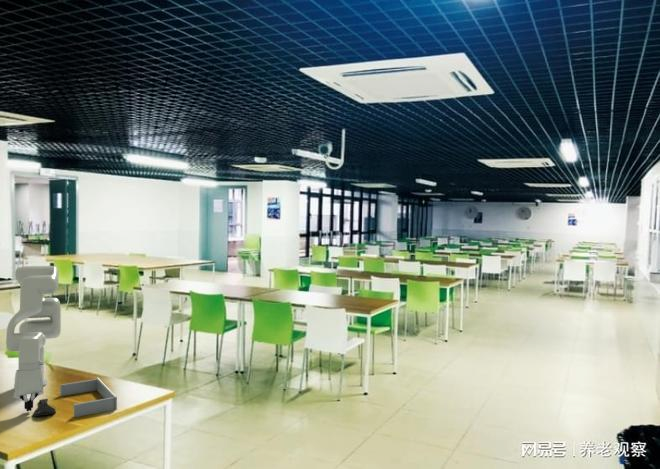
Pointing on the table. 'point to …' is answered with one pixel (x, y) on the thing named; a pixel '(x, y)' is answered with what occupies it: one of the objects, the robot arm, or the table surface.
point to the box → (91, 406)
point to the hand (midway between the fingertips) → (28, 410)
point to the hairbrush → (44, 408)
